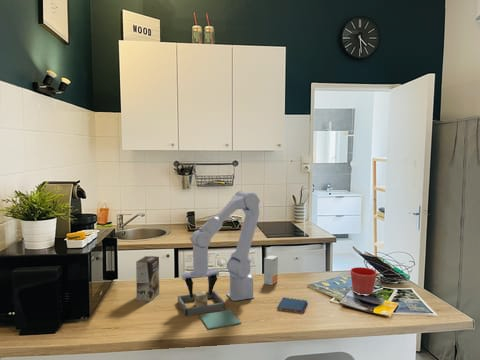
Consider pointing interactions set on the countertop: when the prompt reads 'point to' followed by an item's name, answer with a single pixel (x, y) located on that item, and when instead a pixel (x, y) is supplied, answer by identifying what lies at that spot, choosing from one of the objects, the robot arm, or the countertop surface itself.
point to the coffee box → (147, 278)
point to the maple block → (200, 298)
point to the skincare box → (270, 269)
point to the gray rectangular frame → (201, 309)
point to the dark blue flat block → (292, 305)
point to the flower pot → (363, 280)
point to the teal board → (219, 319)
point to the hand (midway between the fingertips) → (200, 295)
